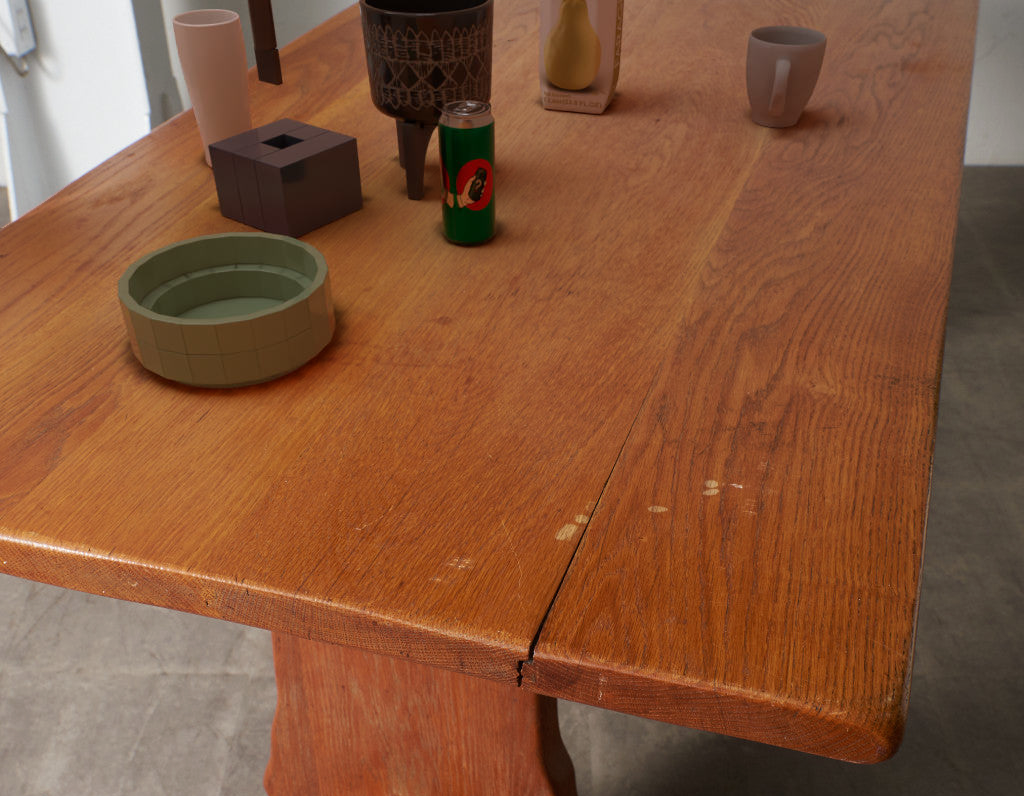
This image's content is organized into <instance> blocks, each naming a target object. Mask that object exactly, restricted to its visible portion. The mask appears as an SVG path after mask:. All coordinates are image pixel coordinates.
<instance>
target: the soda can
mask: <svg viewBox="0 0 1024 796" xmlns="http://www.w3.org/2000/svg"><path fill="white" fill-rule="evenodd" d="M441 111H442V113H441V115H440V117H439V119H438V127H437V136H438V137H437V138H438V158H439V159H438V160H439V176H440V177H439V178H440V179H439V180H440V197H441V201H440V202H441V215H442V216H441V218H442V219H441V221H442V233H443V235H444V236H445V238H447V240H448V241H449V242H451V243H452V244H456V245H458V246H459V245H460V246H467V247H469V246H471V247H472V246H478V245H483V244H485V243H487V242H489V241H490V240H491V239H492V238H493V237H494V235H496V233H497V219H496V218H497V210H496V209H497V207H496V204H497V203H496V201H497V200H496V137H495V136H496V135H495V134H496V133H495V130H496V128H495V126H496V125H495V124H496V123H495V118H494V116H493V115H492V112H491V113H490V107H489V105H487V104H485V103H482V102H478V101H455V102H451V103H448V104H445V105H444V106H443V107H442V109H441Z"/></svg>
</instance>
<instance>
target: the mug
mask: <svg viewBox="0 0 1024 796" xmlns="http://www.w3.org/2000/svg"><path fill="white" fill-rule="evenodd" d="M827 41H828V38H827V36H826V34H825V33H823V32H821V31H820V30H817V29H813V28H810V27H809V28H808V27H803V26H797V25H767V26H761V27H757V28H755V29H753V30H752V31H751V32H750V33H749V36H748V41H747V42H748V43H747V50H746V61H745V62H746V63H745V83H746V92H747V93H746V94H747V98H748V99H747V100H748V103H749V106H750V109H751V116H752V121H753V123H755V124H758V125H760V126H763V127H767V128H789V127H793V126H795V125H797V124H798V121H799V119H800V117H801V115H802V113H803V111H804V110H805V108H806V107H807V105H808V103H809V101H810V100H811V97H812V95H813V93H814V91H815V88H816V86H817V83H818V81H819V77H820V74H821V71H822V66H823V62H824V59H825V54H826V49H827V44H828V43H827Z"/></svg>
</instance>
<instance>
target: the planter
mask: <svg viewBox="0 0 1024 796" xmlns="http://www.w3.org/2000/svg"><path fill="white" fill-rule="evenodd" d="M358 5H359V14H360V21H361V29H362V36H363V37H362V38H363V45H364V52H365V53H364V54H365V60H366V68H367V75H368V82H369V90H370V97H371V102H372V104H373V105H374V107H375V109H376V110H377V111H379V113H381V114H383V115H384V116H386V117H389V118H391V119H395V126H396V127H395V128H396V137H397V148H398V157H399V167H400V168H402V169H403V170H404V169H405V178H406V179H405V181H406V191H407V199H409V200H417V201H420V200H421V199H422V198H424V197H425V166H426V165H425V164H426V160H427V159H426V158H427V152H428V149H429V144H430V142H431V138H432V135H433V133H434V132H435V130H436V129H437V128H438V119H439V117H440V115H441V113H442V111H441V109H442V107H443V106H444V105H445V104H448V103H451V102H455V101H478V102H482V103H485V104H487V105H489V107H490V113H491V114H492V104H491V102H490V101H491V98H492V79H493V78H492V77H493V73H492V72H493V49H494V47H493V46H494V44H493V43H494V15H495V14H494V13H495V0H358Z"/></svg>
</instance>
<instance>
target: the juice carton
mask: <svg viewBox="0 0 1024 796" xmlns="http://www.w3.org/2000/svg"><path fill="white" fill-rule="evenodd" d="M624 10H625V0H539V34H538V35H539V43H538V44H539V45H538V47H539V48H538V49H539V50H538V78H539V79H538V81H539V89H540V95H541V101H542V106H543V108H544V109H546V110H552V111H553V110H554V111H562V112H563V111H564V112H573V113H574V112H575V113H583V114H593V115H601V114H603V112H604V111H605V110H606V108H607V107H608V106H609V105H610V104H611V102H612V100H613V98H614V96H615V93H616V90H617V86H618V82H619V78H620V70H621V60H622V59H621V58H622V57H621V56H622V43H623V42H622V41H623V26H624Z"/></svg>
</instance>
